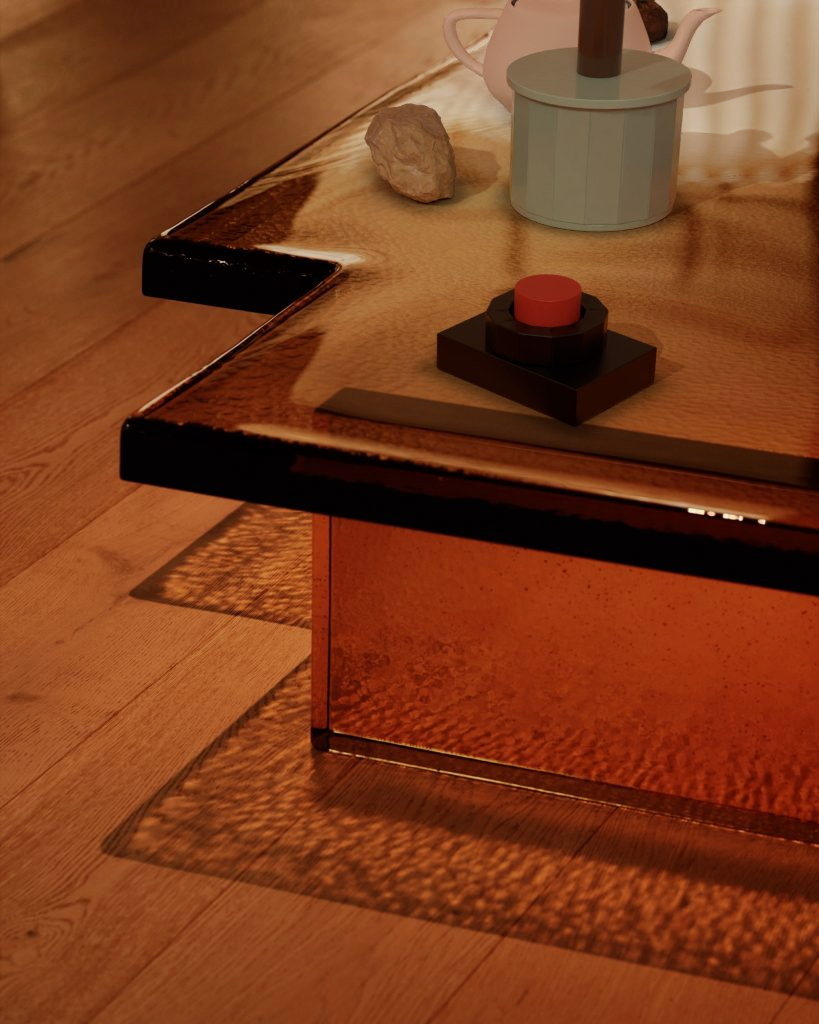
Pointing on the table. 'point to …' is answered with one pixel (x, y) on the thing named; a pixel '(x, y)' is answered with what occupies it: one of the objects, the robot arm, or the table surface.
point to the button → (547, 300)
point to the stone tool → (413, 152)
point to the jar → (594, 164)
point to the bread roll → (653, 19)
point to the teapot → (550, 36)
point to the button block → (548, 360)
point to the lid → (599, 67)
